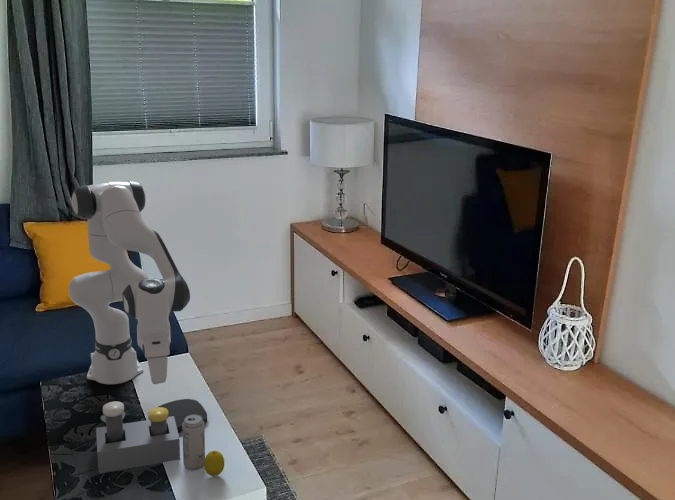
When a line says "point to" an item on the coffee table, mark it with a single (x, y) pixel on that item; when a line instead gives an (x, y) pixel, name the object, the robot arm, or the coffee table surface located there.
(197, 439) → the energy drink can
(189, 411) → the media streaming box
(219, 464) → the lemon
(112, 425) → the knob white
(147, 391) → the coffee table surface
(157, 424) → the knob mustard
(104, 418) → the pacifier
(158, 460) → the mount
